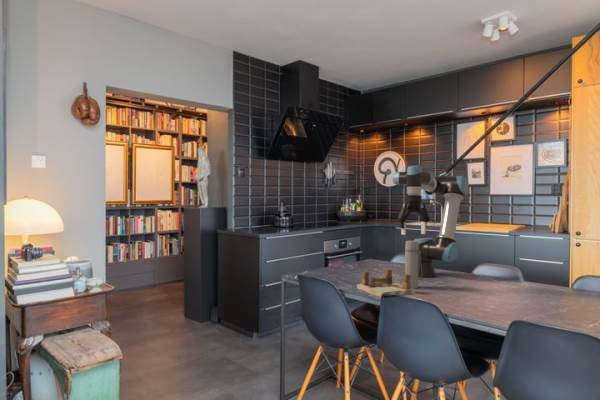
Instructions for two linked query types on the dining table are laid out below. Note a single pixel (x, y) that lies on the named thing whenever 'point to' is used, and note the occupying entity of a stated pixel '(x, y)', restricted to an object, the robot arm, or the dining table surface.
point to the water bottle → (412, 262)
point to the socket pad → (384, 289)
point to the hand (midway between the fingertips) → (413, 234)
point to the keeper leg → (380, 281)
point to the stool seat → (402, 288)
